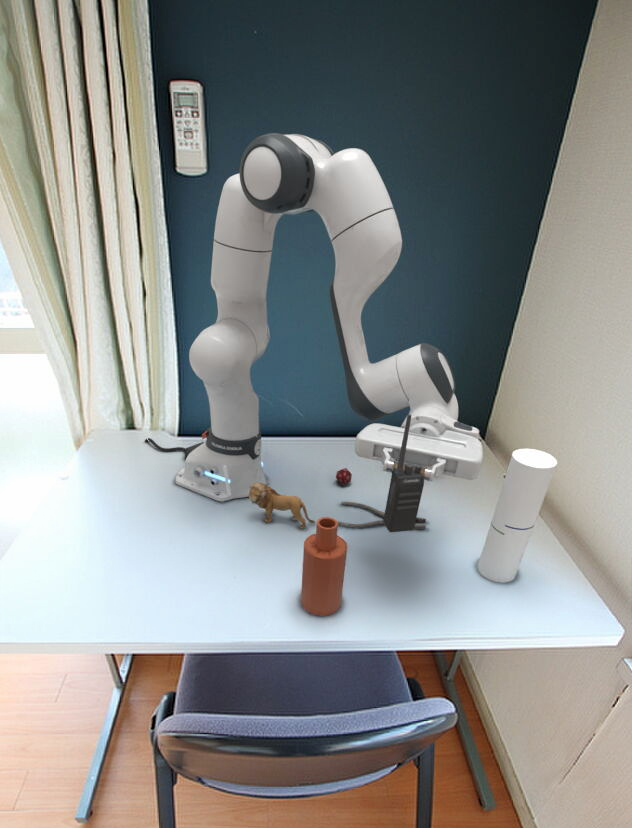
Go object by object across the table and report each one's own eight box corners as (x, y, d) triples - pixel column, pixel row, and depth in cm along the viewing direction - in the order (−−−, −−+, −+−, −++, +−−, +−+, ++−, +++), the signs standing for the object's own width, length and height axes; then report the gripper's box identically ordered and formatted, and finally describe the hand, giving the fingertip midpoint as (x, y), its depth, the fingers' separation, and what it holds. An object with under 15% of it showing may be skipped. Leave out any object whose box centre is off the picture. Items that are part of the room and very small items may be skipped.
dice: (354, 485, 127) (356, 471, 125) (338, 488, 126) (339, 474, 124) (347, 478, 130) (349, 464, 128) (331, 481, 129) (333, 467, 127)
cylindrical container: (511, 587, 97) (553, 472, 83) (473, 573, 100) (508, 460, 86) (518, 567, 102) (560, 455, 88) (482, 554, 105) (517, 445, 91)
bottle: (295, 609, 91) (298, 529, 81) (309, 584, 97) (314, 506, 87) (333, 620, 89) (341, 540, 79) (345, 594, 95) (354, 516, 85)
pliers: (334, 500, 120) (419, 502, 120) (333, 503, 120) (419, 505, 120) (337, 524, 112) (428, 526, 112) (336, 527, 112) (427, 529, 112)
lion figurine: (246, 524, 113) (245, 489, 108) (251, 511, 117) (251, 476, 112) (313, 531, 111) (315, 495, 106) (315, 517, 115) (318, 483, 110)
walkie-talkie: (388, 534, 84) (409, 421, 72) (381, 522, 86) (400, 411, 75) (415, 531, 85) (440, 419, 73) (407, 520, 87) (430, 409, 76)
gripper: (368, 408, 90) (345, 440, 80) (489, 430, 84) (481, 467, 74) (364, 441, 94) (341, 475, 83) (479, 464, 88) (470, 504, 77)
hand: (408, 472), depth 78 cm, fingers closed on walkie-talkie, 5 cm apart
